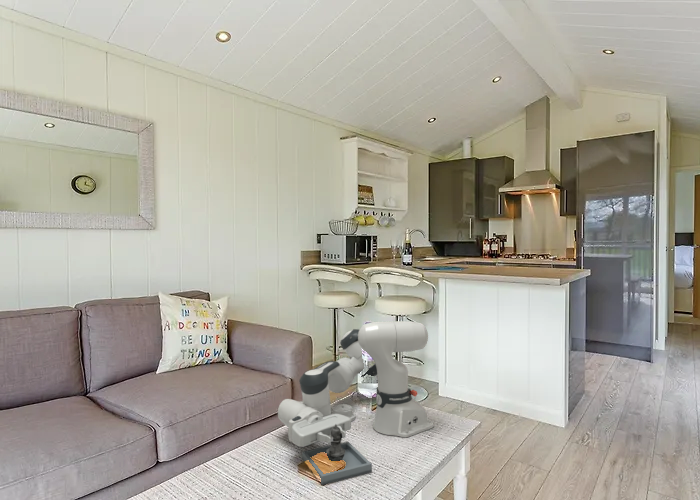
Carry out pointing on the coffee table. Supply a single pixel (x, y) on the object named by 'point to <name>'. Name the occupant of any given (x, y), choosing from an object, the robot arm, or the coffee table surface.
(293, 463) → the coffee table surface
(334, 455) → the dark stone stupa
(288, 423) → the robot arm
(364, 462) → the tray
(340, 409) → the mechanical component
